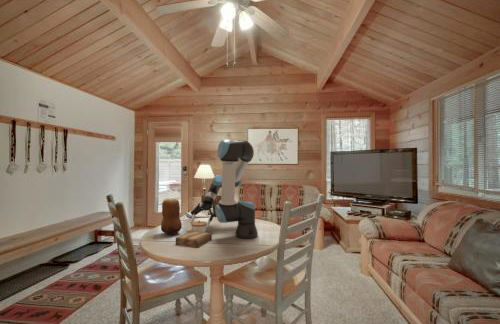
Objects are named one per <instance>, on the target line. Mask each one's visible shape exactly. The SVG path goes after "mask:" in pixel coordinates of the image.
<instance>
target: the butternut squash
mask: <svg viewBox="0 0 500 324" xmlns="http://www.w3.org/2000/svg"><path fill="white" fill-rule="evenodd" d="M180 207H181V205H180V201H179V199H178V198H164V199H163V200H162V202H161V214H162V219H161V224H160V230H161V232H162V233H164V234H165V235H170V236H174V235H176V234H177V233H180V232H181V229H182V227H183V224H182V221H181V219H180V218H181V217H180V212H181V211H180V210H181V208H180Z"/></svg>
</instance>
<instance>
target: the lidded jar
mask: <svg viewBox="0 0 500 324" xmlns="http://www.w3.org/2000/svg"><path fill="white" fill-rule="evenodd" d="M190 225H191V231H193V232H202V233H207V229H208V225H207V221H200V220H198V221H193V223H190Z"/></svg>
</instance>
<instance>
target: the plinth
mask: <svg viewBox="0 0 500 324" xmlns="http://www.w3.org/2000/svg"><path fill="white" fill-rule="evenodd" d="M212 237H213V236H212V232H211V233H210V232H205V233H202V232H193V231H192V230H191V231H188V232H186V233H183V234H181V235H179V236H177V237H175V245H177V246H185V247H192V248H198V249H199V248H200V247H202V246H203V245H205V244H207V243H208V242H209V243H210V241H212Z"/></svg>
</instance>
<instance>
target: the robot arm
mask: <svg viewBox="0 0 500 324" xmlns="http://www.w3.org/2000/svg"><path fill="white" fill-rule="evenodd" d="M254 152H255V149H254V147H253V146H252V144H251V143H250V142H249V141H247V140H244V139H228V138H227V139H222V140H220V141H219V144H218V147H217V157H218V158H219V159H220V162H221V163H222V167H221V169H222V172H221V175H219V174H216V175H215V176H214V177H213V178H212V181H211V183H210V186H209V188H208V190H207V193H206V195H204V196H205V197H204V199H203V202H202V203H200V202H199V203H198V204H197V206H195V207H194V208H193V209H192V211H190V215H191V216H190V220H189V223H190V224H191V223H193V222H195V219H196V215H198V214H199V213H201V212H203V211H209V214H210V215H209V216H208V219H207V221H206V222H207V227H209V226H210V225H211V223H212V221H213V219H214V218H216V219H217V221H218V222H219V223H222V224H224V223H225V224H227V223H232V222H233V223H234V222H237V226H236V230H235V232H234V233H235V237H236V238H238V239H242V240H243V239H245V240H251V239H254V238H257V237H258V234H259V233H258V229H257V226H256V205H255V203H254V202H252V201H247V200H246V201H245V200H239V201H236V200H235V191H236V190H235V189H236V188H237V187H240V186H241V185H242V176H243V174H244V172H245V170H246V168H247V166H248V164H249V163H250V162H251V161H252V160H253V158H254V155H255V153H254ZM220 189H221V193H220V194H221V195H220V199H219V201H218V204H217V205H216V204H215V200H216V198H217V196H218V193H219V191H220Z"/></svg>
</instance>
